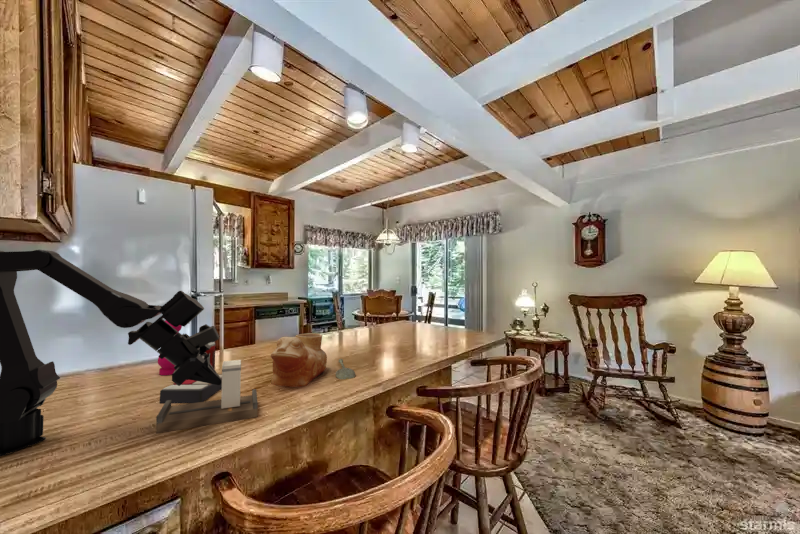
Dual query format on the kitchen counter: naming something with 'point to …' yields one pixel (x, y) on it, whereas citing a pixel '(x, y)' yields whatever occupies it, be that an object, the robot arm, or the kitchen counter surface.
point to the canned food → (211, 354)
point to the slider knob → (231, 383)
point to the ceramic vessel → (298, 360)
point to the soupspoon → (344, 372)
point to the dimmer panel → (204, 413)
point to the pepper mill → (166, 365)
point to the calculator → (189, 392)
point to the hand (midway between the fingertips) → (221, 383)
